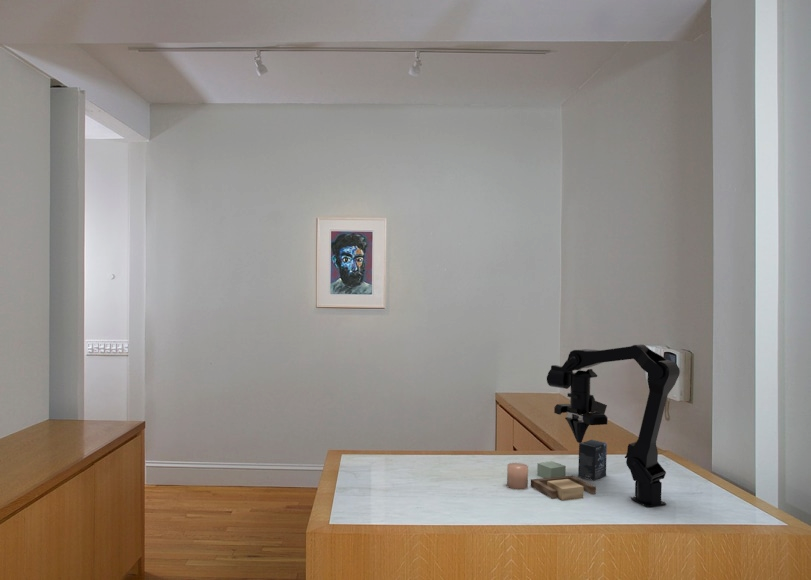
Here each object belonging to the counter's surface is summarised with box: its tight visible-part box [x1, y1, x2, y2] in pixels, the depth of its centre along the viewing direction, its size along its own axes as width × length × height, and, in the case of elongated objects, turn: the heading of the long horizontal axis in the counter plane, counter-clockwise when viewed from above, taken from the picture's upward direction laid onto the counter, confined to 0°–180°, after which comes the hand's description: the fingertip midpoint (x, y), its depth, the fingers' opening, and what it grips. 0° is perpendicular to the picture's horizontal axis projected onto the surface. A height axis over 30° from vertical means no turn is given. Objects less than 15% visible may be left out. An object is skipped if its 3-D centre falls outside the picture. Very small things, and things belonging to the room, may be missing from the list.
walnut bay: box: [530, 475, 597, 500], centre depth 166 cm, size 11×14×2 cm
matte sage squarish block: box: [536, 460, 567, 478], centre depth 178 cm, size 6×6×4 cm
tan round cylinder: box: [506, 462, 529, 491], centre depth 168 cm, size 6×6×6 cm
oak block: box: [547, 479, 584, 501], centre depth 161 cm, size 7×7×4 cm
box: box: [577, 439, 608, 482], centre depth 180 cm, size 8×6×11 cm
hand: (579, 442), depth 173 cm, fingers closed
